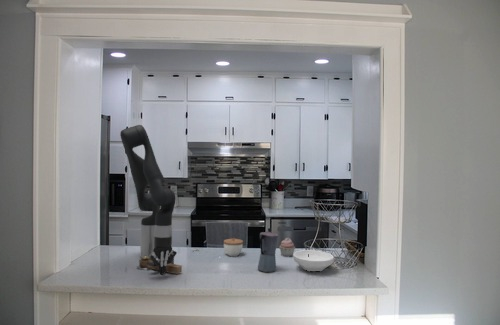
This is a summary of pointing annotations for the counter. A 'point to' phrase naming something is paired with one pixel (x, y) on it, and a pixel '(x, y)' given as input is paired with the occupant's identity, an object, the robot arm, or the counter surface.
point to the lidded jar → (233, 246)
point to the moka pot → (267, 251)
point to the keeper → (157, 260)
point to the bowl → (313, 259)
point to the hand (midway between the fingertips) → (162, 274)
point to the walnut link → (169, 267)
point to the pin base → (141, 267)
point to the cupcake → (287, 247)
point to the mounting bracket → (197, 249)
